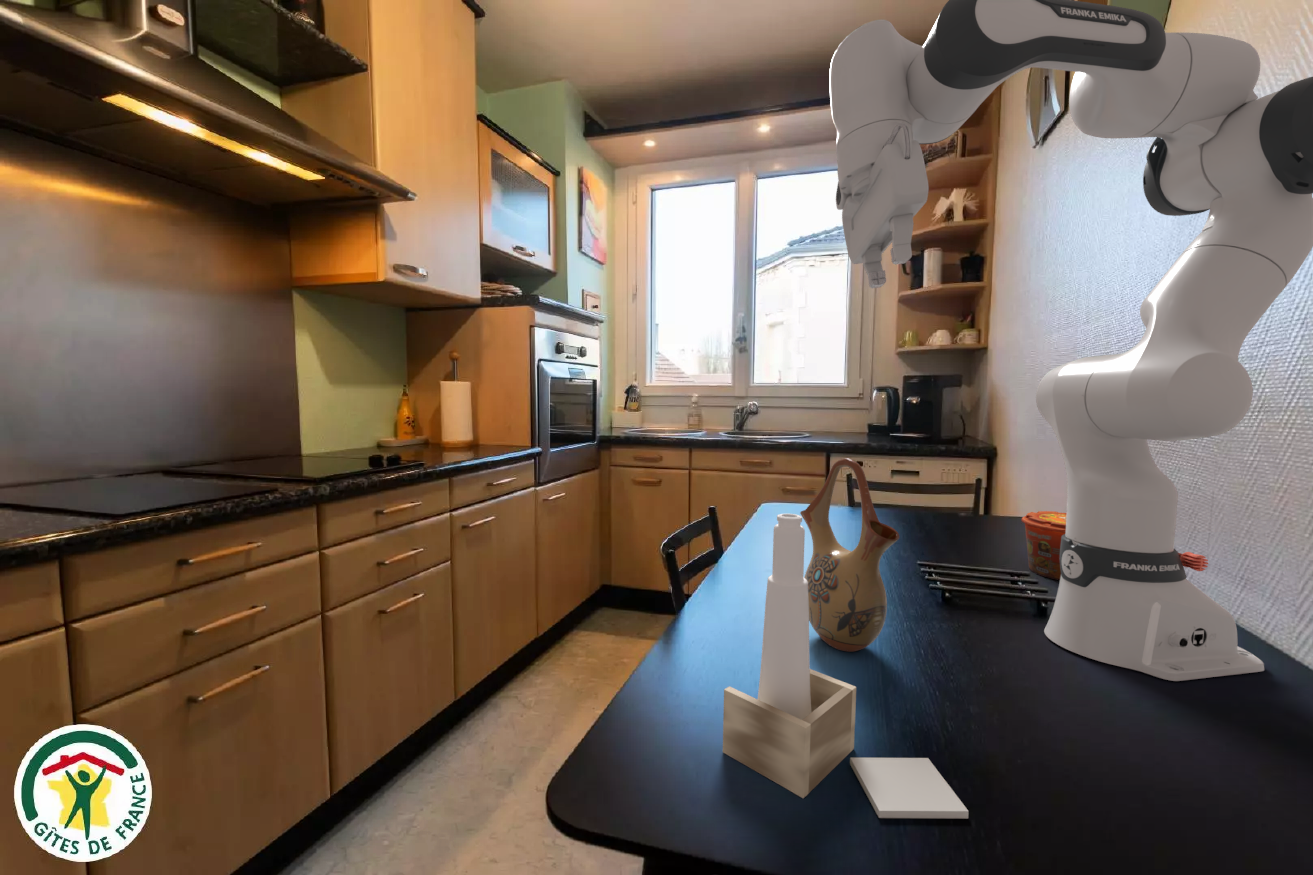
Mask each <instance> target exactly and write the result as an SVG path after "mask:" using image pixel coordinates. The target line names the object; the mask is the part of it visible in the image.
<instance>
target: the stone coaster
mask: <svg viewBox="0 0 1313 875" xmlns="http://www.w3.org/2000/svg"><path fill="white" fill-rule="evenodd" d="M849 765H850V766H851V769H852V770H853V773H854V774H855V776H856V778H857V780H858V781H859V783H860V786H861V787H862V789H863V791H864V793H865V794H866V796H867V798H868V800H869V802H870V803H871V806H872V808H873V810H874V811H875V814H876V815H877V817H878V818H879V819H969V810H968V809H967V807H966V806H965V805H964V803H963V801H961V799H960V798H959V796H958V795H957V794H956V793H955V791H954V790H953V788H952V787H951V786H950V784H948V781H946V780H945V779H944V777H943V776H942V774H941V773H940V771H938V769H937V768H936V766H935V765H934V764H933V763H932V761H931V760H930V759H929V757H850V758H849Z"/></svg>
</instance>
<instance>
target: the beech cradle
mask: <svg viewBox="0 0 1313 875" xmlns="http://www.w3.org/2000/svg"><path fill="white" fill-rule="evenodd" d="M810 695H811V711H812V713H810V714H809V715H808V716H806V717H805V718H804V719H803V720H801V719H799V718H797V717H794V716H792V715H790V714H788V713H786V712H784V711H782V710H779V709H777V708H775V707H773V706H771V705H769V704H766V703H764V702H762V701H760V700H758V698H755V697H754V696H751V695H749V694H747V693H745V692H743V691H742V690H741V691H740V690H739V689H736V688H734V687H732V686H730V685H729V686H727V687H726V688H724V689H723V714H722V715H723V718H722V719H723V720H722V721H723V724H722V726H723V727H722V753H723V754H725V755H726V756H729V757H730V758H732V759H733V760H736V761H737V762H739V763H741V764H742V765H745V766H746V767H748V768H750V769H751V770H752V771H755V772H756V773H759V774H760V775H762V776H763V777H765V778H767V779H769V780H770V781H773V782H774V783H775V784H777V785H779V786H780V787H783V788H784V789H786V790H788V791H789V792H791V793H793V794H794V795H796V796H798V797H800V798H802V799H804V798H805V797H807V796H808V795H809V794H810V793H811V792H812V791H813V790H814V789H815V788H816V787H817V786H818V785H819V784H820V783H821V782H822V781H823V780H824V779H825V778H826V777H827V776H828V775H829V774H830V773H831V772H832V771H833V770H834V769H835V768H836V767H837V766H839V764H840V763H841V762H842V761H843V760H844V759H845V758H846V757H847V756H848V755H849V754H850V753H851V752H852V751H853V750H855V732H856V731H855V728H856V710H857V709H856V705H857V704H856V703H857V686H855V685H854V684H850V683H848V682H844V681H843V680H840V679H837V678H834V677H832V676H829V675H827V674H825V673H822V672H819V671H817V670H814V669H812V668H810Z"/></svg>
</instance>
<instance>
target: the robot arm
mask: <svg viewBox="0 0 1313 875" xmlns="http://www.w3.org/2000/svg"><path fill="white" fill-rule="evenodd" d="M1030 68H1039V69H1047V70H1056V71H1065V72H1074V74H1073V78H1072V80H1071V83H1070V89H1069V96H1068V97H1069V99H1068V100H1069V101H1068V103H1069V104H1068V105H1069V113H1070V117H1071V119H1072V121H1073V123H1074V124H1075V126H1076V127H1077V128H1078V129H1079V131H1081V133H1083V134H1084V135H1087V136H1091V137H1095V138H1102V139H1137V138H1139V139H1140V138H1142V139H1143V138H1155V139H1154V140H1153V141H1152V143H1151V144H1150V146H1149V148H1148V150H1147V152H1146V163H1145V165H1144V168H1143V175H1142V176H1143V177H1142V183H1143V184H1142V186H1143V192H1144V196H1145V199H1146V200H1147V202H1148V204H1149V205H1150V207H1151V208H1152V209H1153V210H1154V211H1156V212H1157V213H1159V214H1161V215H1165V216H1169V217H1170V216H1173V217H1174V216H1175V217H1179V216H1181V217H1182V216H1189V215H1199V214H1201V213H1205V212H1207V211H1209V212H1208V216H1207V219H1206V221H1205V223H1204V226H1203V228H1202V229H1201V232H1200V233H1198V235H1196V237H1195V238H1194V239H1193V240H1192V241H1191V242H1190V243H1189V244H1188V246H1187V247H1186V248H1185V249H1184V250H1183V251H1182V253H1181V254H1180V255H1179V256H1178V257H1177V259H1176V260H1175V261H1174V262H1173V264H1172V265H1171V266H1170V267H1169V268H1168V270H1167V271H1166V272H1165V273H1164V274H1163V275H1162V277H1161V278H1160V280H1158V282H1157V283H1156V284H1155V286H1154V287H1153V288H1152V289H1151V290H1150V292H1149V293H1148V294H1147V295H1146V297H1145V298H1144V299H1143V301H1142V302H1141V305H1140V309H1139V315H1140V318H1141V321H1142V324H1143V325H1144V327H1145V328H1146V329H1145V331H1144V333H1143V336H1142V337H1141V339H1140V340H1139V341H1138V342H1137V343H1136V344H1135V345H1134V346H1132V348H1130V349H1128V350H1127V351H1124V352H1122V353H1115V354H1105V355H1104V354H1103V355H1094V356H1092V355H1091V356H1084V357H1081V358H1078V359H1075V360H1071V361H1068V362H1066V363H1063V364H1061V365H1058V366H1055V367H1054V368H1052V369H1050V370H1049V371H1048V372H1047V373H1045V375H1044V376H1043V377H1042V378H1041V379H1040V381H1039V383H1038V385H1037V388H1036V393H1035V402H1036V407H1037V409H1038V411H1039V413H1040V415H1041V416H1042V417H1043V419H1044V420H1045V421H1046V422H1047V423H1048V424H1049V425H1050V427H1051V428H1052V430H1053V433H1054V435H1055V438H1056V439H1057V442H1058V445H1059V449H1060V452H1061V456H1062V460H1063V463H1064V464H1063V465H1064V468H1065V475H1066V484H1067V485H1066V488H1067V492H1066V493H1067V494H1066V495H1067V496H1066V512H1065V513H1066V532H1065V534H1064V535H1062V537H1061V546H1060V558H1059V559H1060V570H1061V578H1060V580H1059V584H1058V588H1057V592H1056V596H1055V600H1054V604H1053V606H1052V607H1053V608H1052V610H1051V613H1050V616H1049V619H1048V621H1047V624H1046V625H1045V628H1044V630H1043V632H1044V635H1045V636H1046V637H1047V638H1048V639H1049V640H1050V641H1051V642H1053V643H1055V644H1056V645H1058V646H1060V647H1061V648H1063V649H1065V650H1068V651H1070V652H1072V653H1075V654H1078V655H1080V656H1083V657H1084V658H1085V657H1086V658H1088V659H1092V660H1095V661H1096V662H1097V661H1098V662H1101V663H1105V664H1108V665H1113V666H1117V667H1121V668H1125V669H1129V670H1133V671H1137V672H1141V673H1144V674H1146V675H1149V676H1153V677H1156V678H1159V679H1163V680H1166V681H1167V680H1168V681H1170V682H1171V681H1173V682H1180V681H1181V682H1183V681H1190V680H1198V679H1206V678H1213V677H1214V678H1215V677H1216V678H1217V677H1224V676H1225V677H1226V676H1234V675H1242V674H1243V675H1244V674H1249V673H1250V674H1252V673H1258V672H1260V673H1261V672H1264V671H1265V663H1264V662H1263V660H1262V659H1260V658H1259V657H1257V656H1256V655H1254V654H1253V653H1252V652H1250V651H1248V650H1246V649H1244V648H1243V647H1241V646H1238V630H1237V629H1238V628H1237V624H1236V621H1235V619H1234V617H1233V615H1232V613H1230V612H1229V611H1228V610H1227V609H1226V608H1225V607H1223V606H1222V605H1221V604H1219V603H1218V602H1216V600H1214V599H1212V597H1210V596H1208V595H1207V594H1206V593H1205V592H1203V591H1202V590H1201V589H1200V588H1198V587H1197V586H1196V585H1195V584H1194V583H1192V582H1191V581H1189V580H1188V578H1187V574H1186V571H1185V568H1190V569H1192V570H1194V571H1195V572H1203V571H1205V570H1206V568H1208V567H1209V566H1208V565H1209V560H1208V559H1207V557H1206V556H1205V555H1201V554H1197V553H1196V554H1195V553H1193V552H1191V551H1185V552H1183V553H1181V552H1179V551H1178V550H1177V549H1175V538H1176V528H1177V527H1176V524H1177V512H1178V500H1179V494H1178V490H1177V487H1176V486H1175V484H1174V482H1173V481H1172V480H1171V479H1170V478H1169V477H1168V476H1167V475H1165V473H1164V472H1162V471H1161V469H1160V467H1158V466H1157V464H1156V462H1155V461H1154V458H1153V455H1152V454H1151V450H1150V446H1149V443H1148V441H1149V440H1150V441H1159V442H1162V441H1163V442H1179V441H1181V442H1182V441H1188V440H1190V441H1191V440H1197V439H1198V440H1199V439H1201V438H1202V439H1203V438H1209V437H1216V436H1220V435H1223V434H1225V433H1227V432H1229V431H1231V430H1232V429H1234V428H1235V427H1236V426H1238V424H1240V422H1242V420H1243V419H1244V418H1245V416H1246V415H1247V413H1248V411H1249V410H1250V407H1251V405H1252V403H1253V402H1252V400H1253V397H1254V396H1253V394H1254V392H1253V391H1254V390H1253V389H1254V388H1253V387H1254V386H1253V383H1252V380H1251V377H1250V374H1249V373H1248V371H1247V370H1246V368H1245V367H1244V366H1243V364H1242V363H1241V362H1240V361H1239V356H1240V355H1239V354H1240V351H1241V349H1242V346H1243V344H1244V341H1245V339H1246V338H1247V337H1248V335H1249V334H1250V332H1251V331H1252V329H1253V328H1254V327H1255V326H1256V324H1257V323H1258V322H1259V321H1260V319H1261V317H1263V315H1264V314H1265V313H1266V312H1267V310H1268V309H1270V306H1272V304H1273V303H1274V302H1275V300H1276V299H1277V298H1278V297H1279V295H1280V294H1281V293H1282V292H1283V291H1284V289H1285V288H1286V287H1287V286H1288V284H1289V283H1290V282H1291V281H1292V280H1293V278H1294V277H1295V275H1296V274H1297V272H1298V271H1299V270H1300V268H1301V267H1302V265H1303V264H1304V262H1305V260H1306V259H1307V258H1308V256H1309V254H1310V252H1311V250H1312V248H1313V76H1310V77H1307V78H1303V79H1300V80H1297V81H1294V82H1291V83H1289V84H1288V85H1285V86H1284V87H1282V88H1281V89H1280V90H1277V91H1275V92H1272V93H1270V94H1267V95H1264V96H1262V97H1258V95H1257V94H1256V93H1255V91H1254V89H1255V87H1256V86H1257V82H1258V81H1259V77H1260V72H1261V60H1260V55H1259V53H1258V51H1257V50H1256V48H1255V47H1254V46H1253V45H1251V44H1250V43H1248V42H1246V41H1245V40H1240V39H1236V38H1233V37H1228V36H1223V35H1217V34H1209V33H1198V32H1166V31H1165V29H1164V27H1163V25H1162V23H1161V21H1159V20H1158V19H1157V18H1156V17H1154V16H1152V14H1148V13H1146V12H1144V11H1140V10H1137V9H1132V8H1128V7H1123V6H1114V5H1108V4H1102V3H1096V2H1095V3H1094V2H1088V1H1080V0H947V2H946V3H945V4H944V6H943V7H942V9H941V11H940V12H939V15H938V16H937V18H936V21H935V22H934V24H933V26H932V28H931V30H930V32H929V34H928V36H927V38H926V40H925V42H924V43H923V45H920V44H917V43H915V42H913V41H911V40H909V39H908V38H905V37H904V36H903V35H901V34H900V33H899V32H898V31H897V29H896V28H895V27H894V25H893V23H892V22H891V21H889V20H888V19H875V20H871V21H869V22H866V23H864V24H862V25H861V26H859V27H857V28H856V29H854V30H853V31H852V32H850V33H849V34H848V35H846V37H845V38H844V39H843V40H842V41H841V42H840V43H839V45H838V47H837V48H836V49H835V51H834V54H833V55H832V58H831V62H830V68H829V98H830V99H829V100H830V101H829V102H830V110H831V118H832V121H833V124H834V127H835V129H836V144H835V153H836V154H835V155H836V162H837V169H836V170H837V181H838V182H837V186H836V193H835V205H836V209H837V210H839V211H840V210H842V212H841V221H842V229H843V234H844V240H845V245H846V249H847V251H846V252H847V255H848V259H849V260H850V262H851V263H852V264H853V265H859V264H862V266H863V269H864V271H865V274H866V275H867V279H868V285H869V288H870V289H877V288H881V287H884V285H885V283H886V282H887V278H886V270H884V269H883V266H882V263H881V262H882V260H883V256H882V255H883V253H884V252H885V251H886V250H887V249H888V247H889V246H890V245H892V246H891V248H890V257H891V262H892V264H893V265H900V264H905V263H906V264H907V262H909V260H911V258H912V257H913V252H912V238H913V230H914V224H915V223H914V217H915V216H916V215H917V213H918V212H920V210H921V209H922V208H923V206H924V205H925V204H926V203H927V201H928V196H929V188H930V187H929V178H928V175H927V169H926V164H925V160H924V154H923V151H922V147H921V145H933V144H936V143H940V142H942V141H944V140H946V139H949V137H951V136H953V134H954V133H956V132H957V131H958V130H959V129H960V128H961V127H962V126H963V125H964V124H965V122H967V120H968V119H969V118H971V117H972V115H973V114H974V113H975V112H976V111H977V109H979V107H980V105H982V103H983V102H984V101H985V100H986V99H987V98H988V97H989V96H990V95H991V94H992V93H993V92H994V91H995V89H997V87H999V85H1001V84H1003V82H1005V81H1006V80H1008V79H1010V78H1011V77H1012V76H1014V75H1016V74H1017V73H1019V72H1022V71H1024V70H1026V69H1030Z"/></svg>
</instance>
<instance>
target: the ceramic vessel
mask: <svg viewBox="0 0 1313 875" xmlns="http://www.w3.org/2000/svg"><path fill="white" fill-rule="evenodd" d="M846 467H847V468H849V469H850V470H852V472H853V473H854V475H855V479H856V482H857V485H858V486H857V487H858V489H859V490H858V491H859V495H860V504H861V531H860V537H859V541H858V544H857V545H856V546H855V548H854V549H853V550H850V549H847V548H845V547H844V546H842V545H841V544H840V543H839V541H838V540H837V538H836V536H835V534H834V532H833V531H834V530H833V529H832V526H831V523H830V520H829V518H830V508H831V504H832V503H831V502H832V498H833V494H834V489H835V485H836V481H837V479H838V478H837V477H838V475H839V473H840V471H841V469H842V468H846ZM799 514H800V516H801V517H802V520H804V522H805V524H806V526H807V528H808V529H809V532H810V535H811V541H812V555H811V557H810V558H811V559H810V561H809V564H808V566H807V568H806V571H805V572H804V576H803V577H804V578H805V579H806V580H807V581H808V601H809V624H810V625H811V627H812V629H813V630H814V631H815V633H816V634H817V636H819V638H821V640H822V641H823V642H825V644H827V645H828V646H830V647H831V648H833V649H835V650H838V651H842V652H848V653H849V652H850V653H851V652H852V653H853V652H859V651H861V650H863V649H865V648H867V647H869V646H870V645H871V644H872V643H873V642H875V640H876V639H877V638H878V637H879V635H880V634H881V632H882V630H883V627H884V626H885V622H886V618H887V611H888V601H887V600H888V599H887V592H886V587H885V584H884V582H883V579H882V574H881V571H880V562H881V559H882V556H883V555H884V553H885V552H886V551H887V550H888V549H890V547H891V546H892V545H894V544H896V542H898V540H900V533H899V532H898V531H897V530H896V529H895V528H893V527H892V526H890V525H888V524H885V523H882V522H880V520H879V518H878V516H877V513H876V511H875V508H874V504H873V501H872V496H871V493H870V489H869V485H868V481H867V477H866V473H865V471H864V469H863V468H862V466H861V465H860V464H859V463H858V462H857V461H855V460H854V459H852V458H849V457H846V458H841V459H839V460H837V461H835V462H834V463H833V464H832V466H831V468H830V470H829V473H828V475H827V478H826V480H825V482H824V484H823V486H822V488H821V489H820V491H819V492H818V494H817V495H816V497H815V498H814V499H813V500H812V501H811V503H809V505H808V506H807V507H806V509H804V510H802V511H800V512H799Z"/></svg>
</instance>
